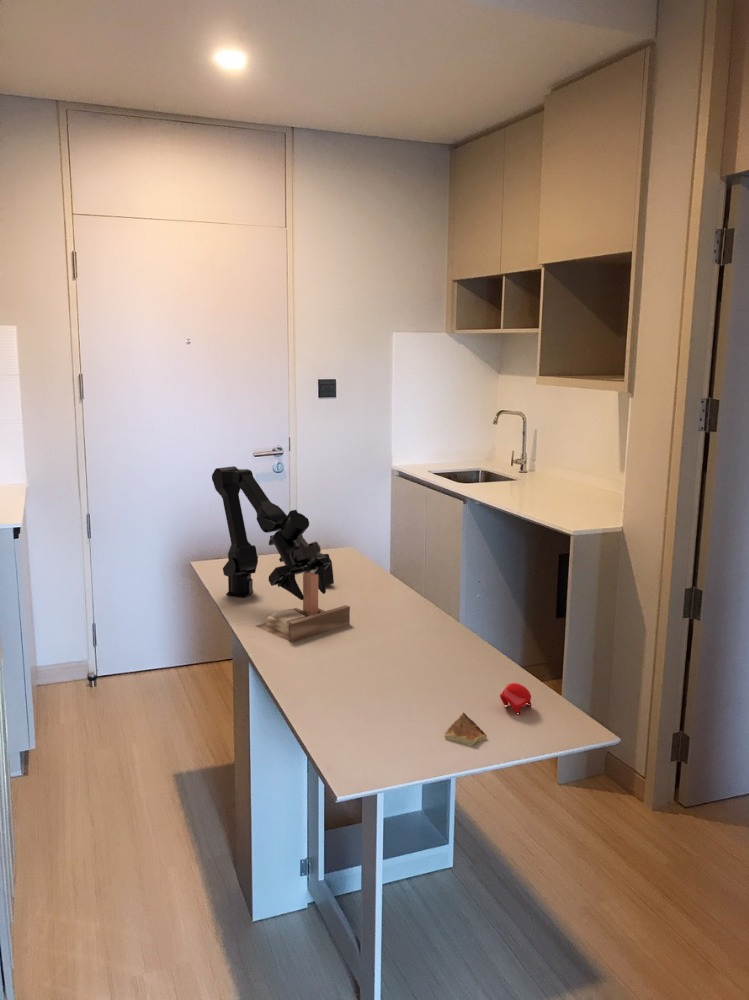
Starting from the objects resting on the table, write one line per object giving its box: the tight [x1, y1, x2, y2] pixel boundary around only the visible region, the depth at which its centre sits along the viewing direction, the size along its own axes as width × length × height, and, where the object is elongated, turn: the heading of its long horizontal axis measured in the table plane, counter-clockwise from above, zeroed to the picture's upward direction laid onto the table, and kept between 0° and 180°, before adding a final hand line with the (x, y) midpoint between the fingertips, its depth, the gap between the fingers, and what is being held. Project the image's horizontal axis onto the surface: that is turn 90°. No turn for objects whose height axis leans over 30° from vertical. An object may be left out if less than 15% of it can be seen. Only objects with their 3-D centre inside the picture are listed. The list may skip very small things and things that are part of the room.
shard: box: [444, 712, 488, 747], centre depth 163 cm, size 11×8×2 cm
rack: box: [255, 604, 351, 643], centre depth 217 cm, size 16×20×6 cm
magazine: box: [295, 534, 335, 586], centre depth 265 cm, size 17×3×30 cm
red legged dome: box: [499, 682, 532, 714], centre depth 172 cm, size 8×6×6 cm
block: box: [302, 572, 319, 615], centre depth 221 cm, size 4×2×13 cm
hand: (313, 596), depth 220 cm, fingers open, 8 cm apart
